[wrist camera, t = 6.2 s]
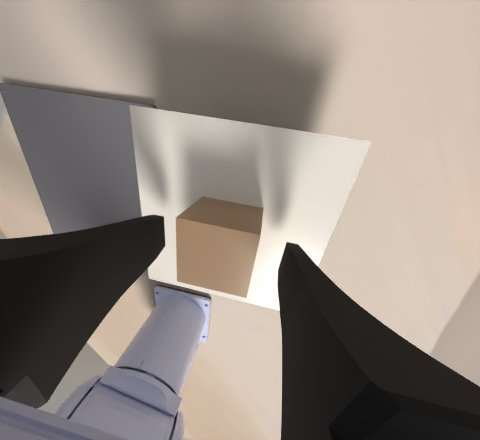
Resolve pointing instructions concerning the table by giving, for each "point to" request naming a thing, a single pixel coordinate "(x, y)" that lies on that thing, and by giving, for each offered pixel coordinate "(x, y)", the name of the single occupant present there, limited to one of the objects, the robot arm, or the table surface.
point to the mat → (77, 155)
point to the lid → (238, 197)
